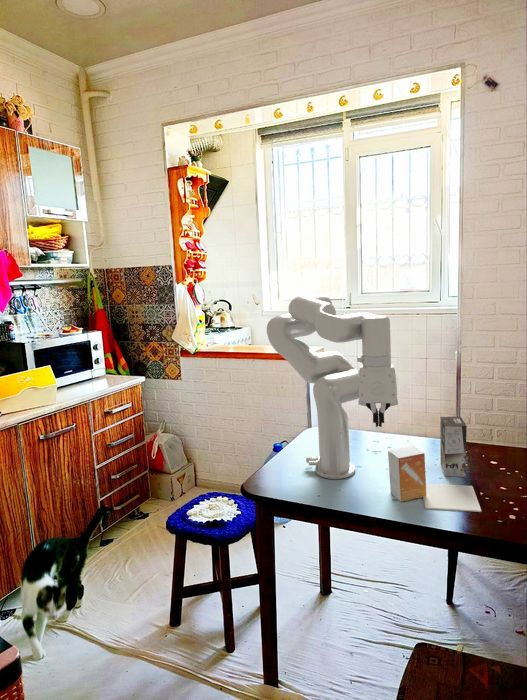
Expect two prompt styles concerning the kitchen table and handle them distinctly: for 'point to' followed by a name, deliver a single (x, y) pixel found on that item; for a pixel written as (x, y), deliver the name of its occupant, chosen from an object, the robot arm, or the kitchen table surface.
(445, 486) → the mat
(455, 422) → the coffee box
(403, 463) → the small box
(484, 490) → the kitchen table surface
